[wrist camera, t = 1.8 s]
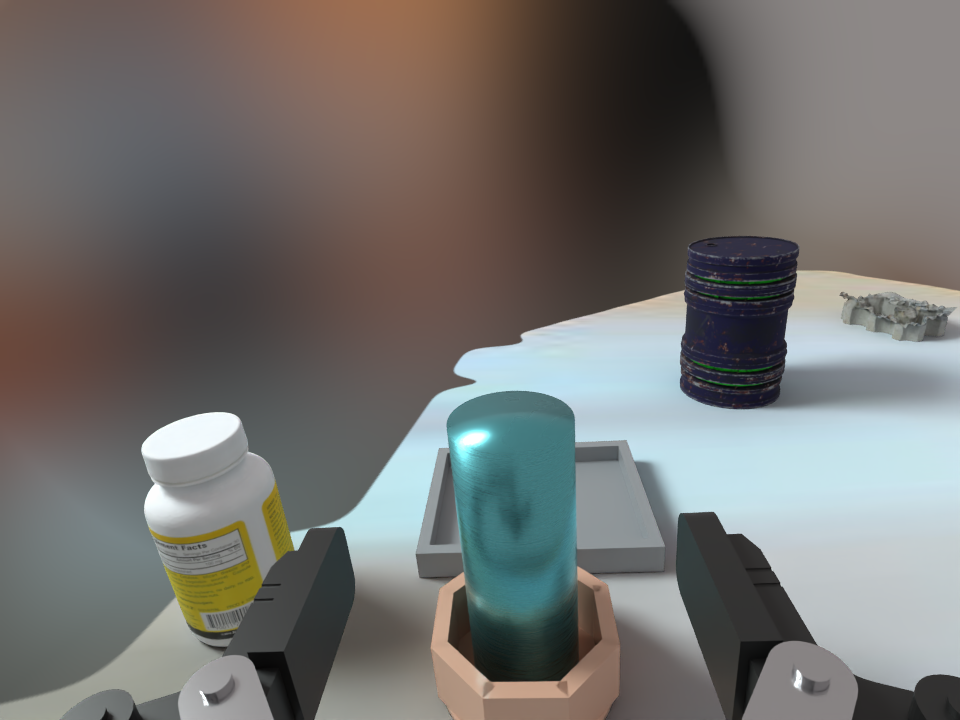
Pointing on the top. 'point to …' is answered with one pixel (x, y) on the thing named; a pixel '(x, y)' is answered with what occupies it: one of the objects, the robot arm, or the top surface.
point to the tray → (599, 513)
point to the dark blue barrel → (737, 319)
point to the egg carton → (896, 316)
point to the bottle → (518, 532)
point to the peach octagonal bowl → (528, 705)
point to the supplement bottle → (213, 520)
